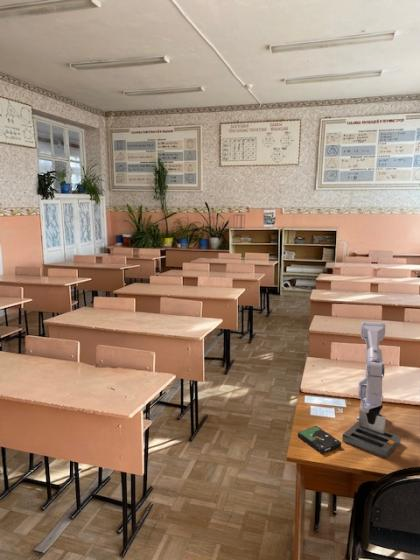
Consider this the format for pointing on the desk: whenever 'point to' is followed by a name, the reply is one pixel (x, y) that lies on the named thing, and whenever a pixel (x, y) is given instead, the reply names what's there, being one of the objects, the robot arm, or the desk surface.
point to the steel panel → (378, 425)
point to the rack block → (372, 440)
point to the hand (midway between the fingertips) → (372, 422)
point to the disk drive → (319, 439)
